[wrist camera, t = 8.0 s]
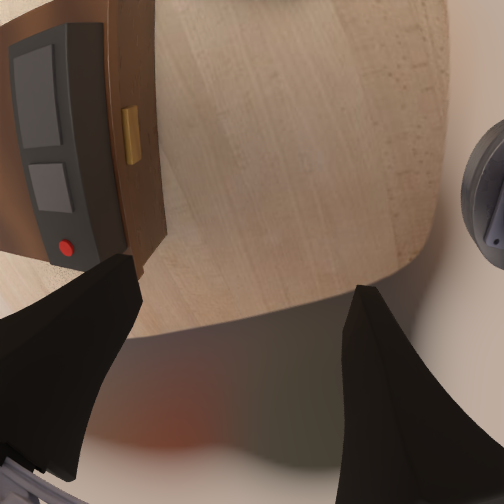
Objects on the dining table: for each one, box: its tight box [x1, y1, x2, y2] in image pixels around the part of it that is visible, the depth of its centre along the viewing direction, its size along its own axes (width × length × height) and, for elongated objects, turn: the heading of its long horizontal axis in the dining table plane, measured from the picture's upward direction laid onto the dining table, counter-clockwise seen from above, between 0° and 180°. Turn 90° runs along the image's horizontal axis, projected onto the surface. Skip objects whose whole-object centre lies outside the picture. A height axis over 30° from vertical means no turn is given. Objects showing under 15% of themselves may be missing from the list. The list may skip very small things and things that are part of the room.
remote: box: [8, 22, 127, 272], centre depth 13 cm, size 12×4×3 cm, turn 179°
